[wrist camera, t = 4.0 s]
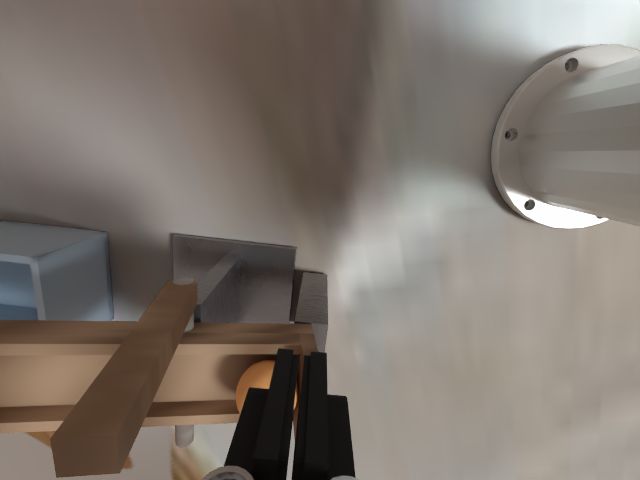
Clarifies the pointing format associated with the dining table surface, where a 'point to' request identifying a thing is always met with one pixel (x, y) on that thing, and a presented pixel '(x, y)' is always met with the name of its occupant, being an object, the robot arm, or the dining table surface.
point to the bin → (54, 273)
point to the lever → (131, 376)
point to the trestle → (249, 283)
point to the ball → (256, 381)
